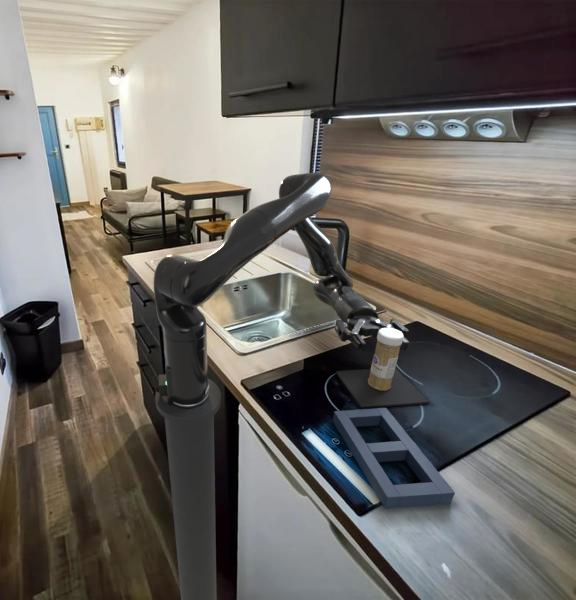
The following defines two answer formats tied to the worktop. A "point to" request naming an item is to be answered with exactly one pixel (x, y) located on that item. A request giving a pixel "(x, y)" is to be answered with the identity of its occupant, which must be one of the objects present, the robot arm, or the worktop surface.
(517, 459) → the worktop surface
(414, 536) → the worktop surface
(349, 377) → the mat
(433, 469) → the holder
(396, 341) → the sprinkles bottle
